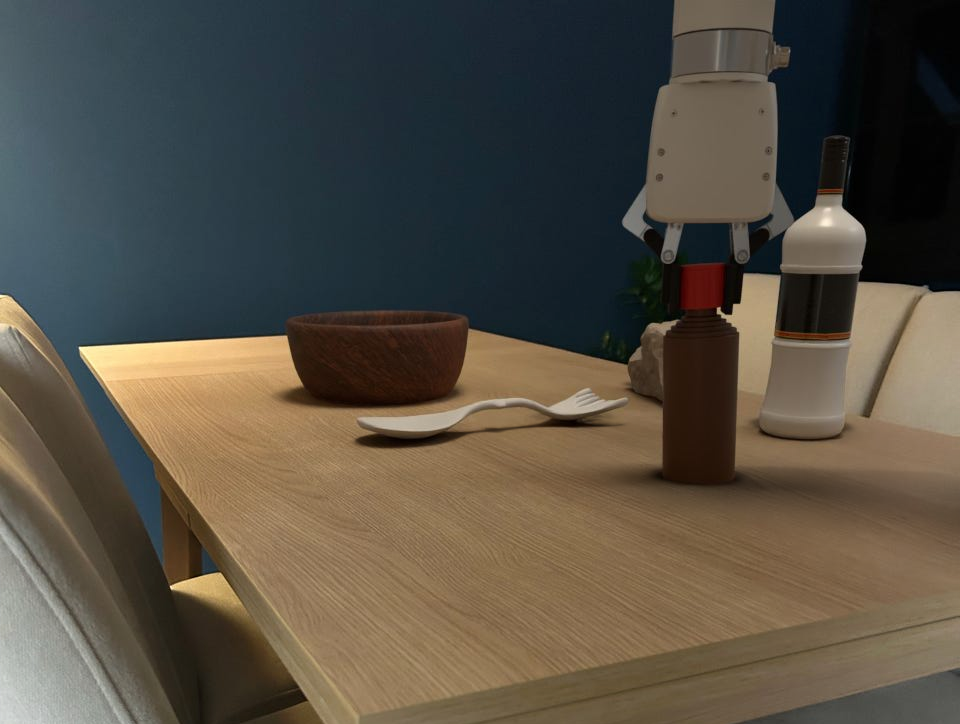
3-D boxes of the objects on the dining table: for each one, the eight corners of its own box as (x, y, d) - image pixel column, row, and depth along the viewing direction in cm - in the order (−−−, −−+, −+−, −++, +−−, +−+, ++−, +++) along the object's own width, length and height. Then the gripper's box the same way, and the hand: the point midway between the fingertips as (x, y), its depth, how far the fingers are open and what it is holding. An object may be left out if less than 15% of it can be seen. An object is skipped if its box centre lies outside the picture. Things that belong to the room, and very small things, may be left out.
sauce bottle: (730, 473, 91) (736, 269, 84) (738, 490, 85) (746, 272, 78) (660, 475, 91) (661, 274, 85) (664, 493, 86) (665, 277, 79)
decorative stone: (727, 410, 124) (735, 328, 120) (672, 412, 122) (678, 329, 118) (666, 386, 142) (671, 314, 138) (617, 388, 140) (621, 316, 136)
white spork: (629, 424, 115) (630, 395, 113) (374, 451, 102) (373, 417, 101) (588, 412, 122) (589, 384, 121) (347, 435, 109) (345, 404, 108)
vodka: (760, 439, 107) (793, 133, 95) (755, 423, 115) (786, 140, 103) (848, 442, 105) (893, 130, 93) (837, 426, 113) (877, 138, 102)
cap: (729, 307, 80) (730, 263, 79) (682, 310, 81) (682, 267, 79) (719, 304, 84) (720, 262, 83) (674, 307, 84) (674, 265, 83)
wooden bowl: (322, 379, 150) (317, 309, 146) (482, 382, 146) (482, 310, 142) (264, 407, 127) (257, 325, 123) (451, 411, 123) (450, 327, 119)
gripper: (820, 70, 78) (792, 310, 85) (611, 75, 80) (601, 309, 87) (840, 55, 71) (808, 318, 78) (610, 61, 73) (600, 316, 80)
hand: (699, 311), depth 82 cm, fingers closed on cap, 3 cm apart
